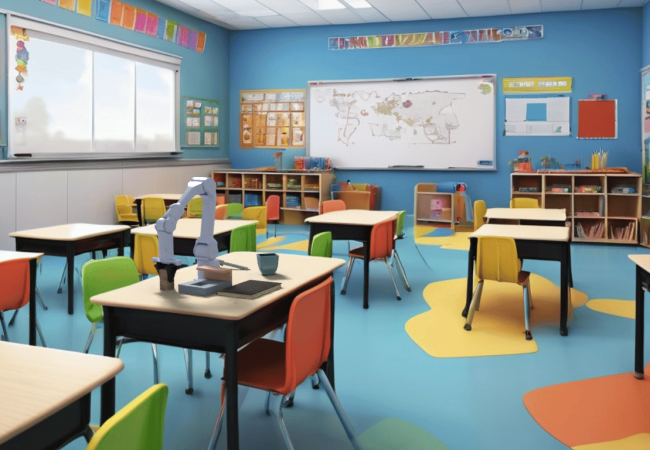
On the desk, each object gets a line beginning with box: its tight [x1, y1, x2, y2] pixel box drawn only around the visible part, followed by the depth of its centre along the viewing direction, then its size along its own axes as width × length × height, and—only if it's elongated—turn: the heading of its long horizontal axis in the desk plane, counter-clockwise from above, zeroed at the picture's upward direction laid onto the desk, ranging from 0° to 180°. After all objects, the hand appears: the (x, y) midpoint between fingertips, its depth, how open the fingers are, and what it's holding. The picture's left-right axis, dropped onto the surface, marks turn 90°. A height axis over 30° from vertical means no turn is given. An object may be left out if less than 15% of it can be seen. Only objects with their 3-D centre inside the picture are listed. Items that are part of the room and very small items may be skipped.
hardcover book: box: [215, 279, 283, 300], centre depth 238 cm, size 16×23×2 cm
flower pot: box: [256, 252, 280, 276], centre depth 271 cm, size 9×9×9 cm
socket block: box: [177, 278, 233, 297], centre depth 239 cm, size 16×14×3 cm
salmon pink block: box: [196, 265, 233, 282], centre depth 243 cm, size 6×14×5 cm, turn 59°
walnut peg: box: [158, 268, 175, 291], centre depth 241 cm, size 4×4×8 cm
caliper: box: [216, 258, 251, 271], centre depth 284 cm, size 20×1×6 cm, turn 76°
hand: (167, 281), depth 241 cm, fingers closed on walnut peg, 4 cm apart
